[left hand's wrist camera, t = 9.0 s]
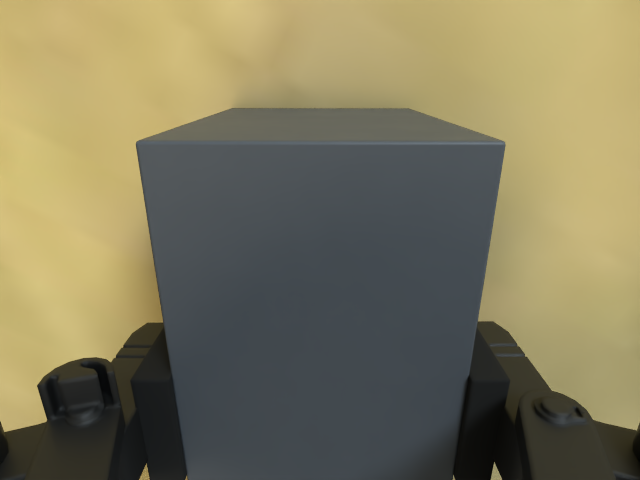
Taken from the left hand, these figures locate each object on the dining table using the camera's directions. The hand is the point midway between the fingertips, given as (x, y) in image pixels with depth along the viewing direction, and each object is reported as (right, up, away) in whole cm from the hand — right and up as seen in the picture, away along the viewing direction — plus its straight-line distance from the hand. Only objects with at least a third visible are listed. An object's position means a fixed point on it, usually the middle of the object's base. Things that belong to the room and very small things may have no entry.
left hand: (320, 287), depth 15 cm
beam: (0, -22, +10) cm, 24 cm away
